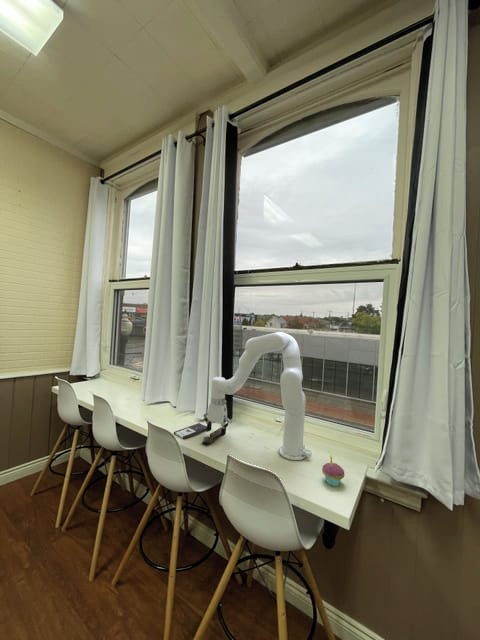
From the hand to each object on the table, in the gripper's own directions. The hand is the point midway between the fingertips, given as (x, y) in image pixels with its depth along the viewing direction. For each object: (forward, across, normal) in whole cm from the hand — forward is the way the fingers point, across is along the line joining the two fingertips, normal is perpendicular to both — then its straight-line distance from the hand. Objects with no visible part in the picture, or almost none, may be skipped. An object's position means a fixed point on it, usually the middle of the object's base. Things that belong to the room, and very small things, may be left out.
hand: (216, 432), depth 141 cm
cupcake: (+3, -61, +6) cm, 61 cm away
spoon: (+2, 0, +2) cm, 2 cm away
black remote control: (+3, 0, +2) cm, 3 cm away
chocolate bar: (+3, +15, +2) cm, 15 cm away
